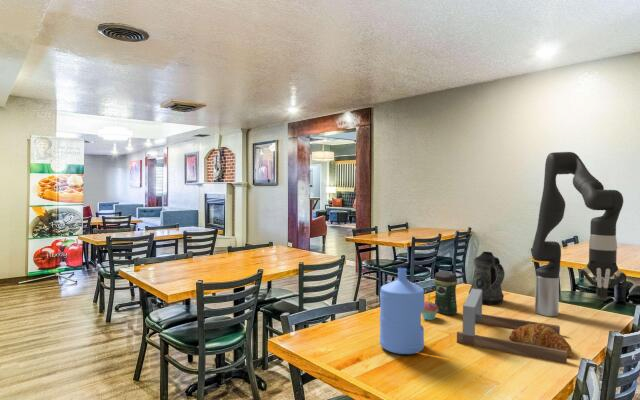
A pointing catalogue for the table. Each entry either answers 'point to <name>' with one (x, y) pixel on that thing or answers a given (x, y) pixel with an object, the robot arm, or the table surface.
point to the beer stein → (488, 278)
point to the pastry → (540, 337)
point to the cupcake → (429, 309)
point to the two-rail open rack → (474, 314)
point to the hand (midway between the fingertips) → (601, 298)
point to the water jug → (401, 316)
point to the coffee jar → (446, 293)
